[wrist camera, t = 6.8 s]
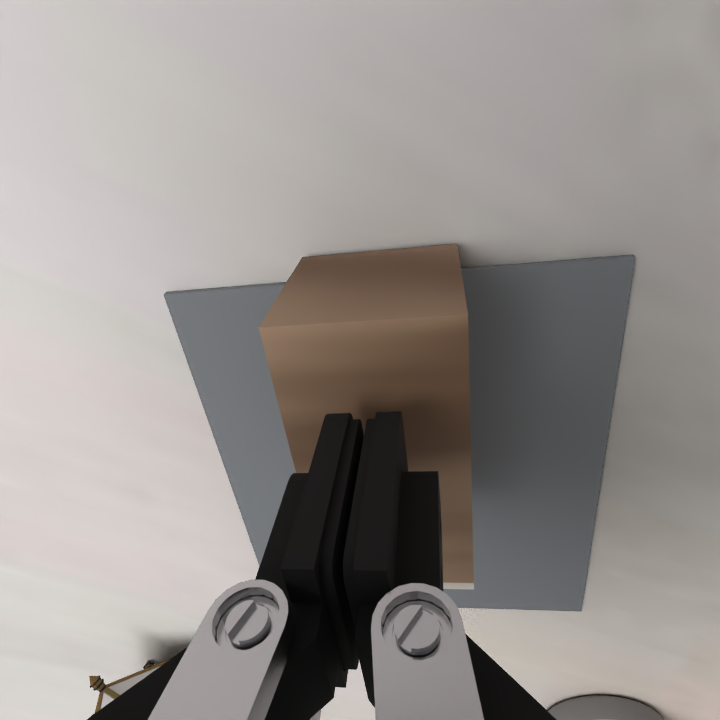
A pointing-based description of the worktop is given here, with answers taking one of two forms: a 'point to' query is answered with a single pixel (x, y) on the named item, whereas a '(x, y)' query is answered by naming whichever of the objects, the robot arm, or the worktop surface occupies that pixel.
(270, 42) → the worktop surface
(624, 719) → the travel mug
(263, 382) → the mat
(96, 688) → the game die
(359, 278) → the pillar block
